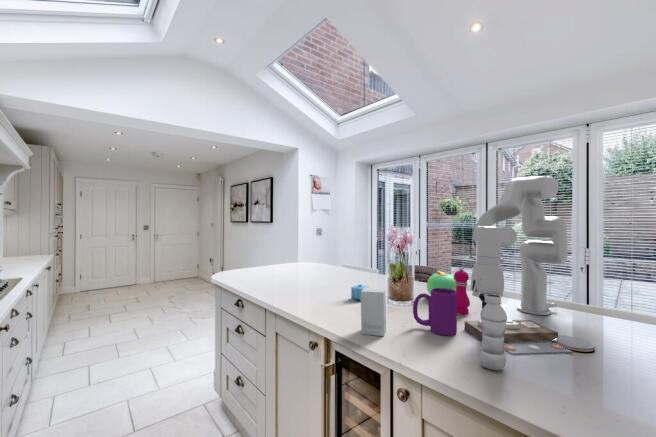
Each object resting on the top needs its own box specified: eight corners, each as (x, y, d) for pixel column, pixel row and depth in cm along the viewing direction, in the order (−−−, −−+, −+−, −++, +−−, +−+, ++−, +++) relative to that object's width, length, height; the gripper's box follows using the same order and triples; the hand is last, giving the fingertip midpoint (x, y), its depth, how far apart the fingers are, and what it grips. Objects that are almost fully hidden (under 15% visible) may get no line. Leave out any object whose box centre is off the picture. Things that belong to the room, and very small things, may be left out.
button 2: (531, 330, 114) (531, 322, 114) (540, 335, 110) (540, 326, 110) (519, 330, 114) (520, 322, 114) (528, 335, 109) (528, 326, 109)
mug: (455, 338, 107) (456, 295, 107) (410, 330, 114) (410, 289, 114) (457, 329, 115) (458, 289, 115) (415, 323, 122) (415, 285, 122)
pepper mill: (466, 310, 140) (467, 266, 140) (472, 315, 132) (472, 268, 132) (449, 309, 140) (450, 265, 140) (454, 314, 133) (455, 268, 133)
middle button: (510, 328, 113) (510, 319, 113) (519, 332, 109) (519, 323, 109) (499, 328, 113) (499, 319, 113) (507, 332, 108) (507, 323, 108)
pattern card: (554, 343, 103) (554, 341, 103) (572, 352, 96) (572, 350, 96) (497, 345, 102) (497, 343, 102) (511, 354, 95) (511, 352, 95)
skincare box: (386, 331, 114) (387, 288, 113) (383, 337, 107) (384, 292, 107) (364, 328, 116) (364, 286, 116) (360, 334, 110) (360, 290, 110)
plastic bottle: (474, 362, 89) (475, 293, 89) (496, 362, 90) (497, 293, 90) (487, 374, 83) (488, 299, 83) (511, 373, 83) (512, 298, 83)
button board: (529, 327, 118) (529, 319, 118) (557, 341, 106) (557, 332, 106) (464, 328, 116) (464, 320, 116) (484, 343, 103) (485, 334, 103)
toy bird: (424, 295, 167) (424, 267, 167) (456, 296, 164) (457, 268, 164) (430, 304, 149) (430, 273, 149) (467, 306, 146) (467, 275, 146)
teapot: (358, 303, 149) (359, 288, 149) (347, 301, 152) (348, 286, 152) (369, 298, 159) (369, 283, 159) (359, 296, 163) (359, 282, 162)
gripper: (501, 260, 114) (500, 310, 114) (462, 259, 113) (461, 310, 113) (515, 263, 107) (514, 316, 107) (474, 262, 106) (472, 316, 105)
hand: (487, 313), depth 110 cm, fingers closed
